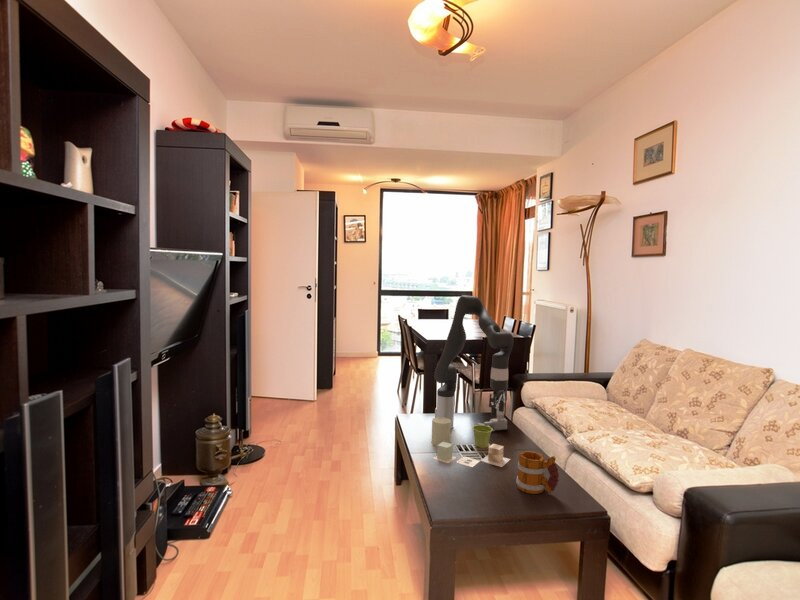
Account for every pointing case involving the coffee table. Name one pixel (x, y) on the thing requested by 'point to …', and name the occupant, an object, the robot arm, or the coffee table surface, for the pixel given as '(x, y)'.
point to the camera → (497, 421)
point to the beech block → (495, 453)
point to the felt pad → (495, 462)
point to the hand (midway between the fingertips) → (497, 413)
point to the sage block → (444, 451)
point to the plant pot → (482, 435)
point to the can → (440, 430)
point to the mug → (536, 473)
